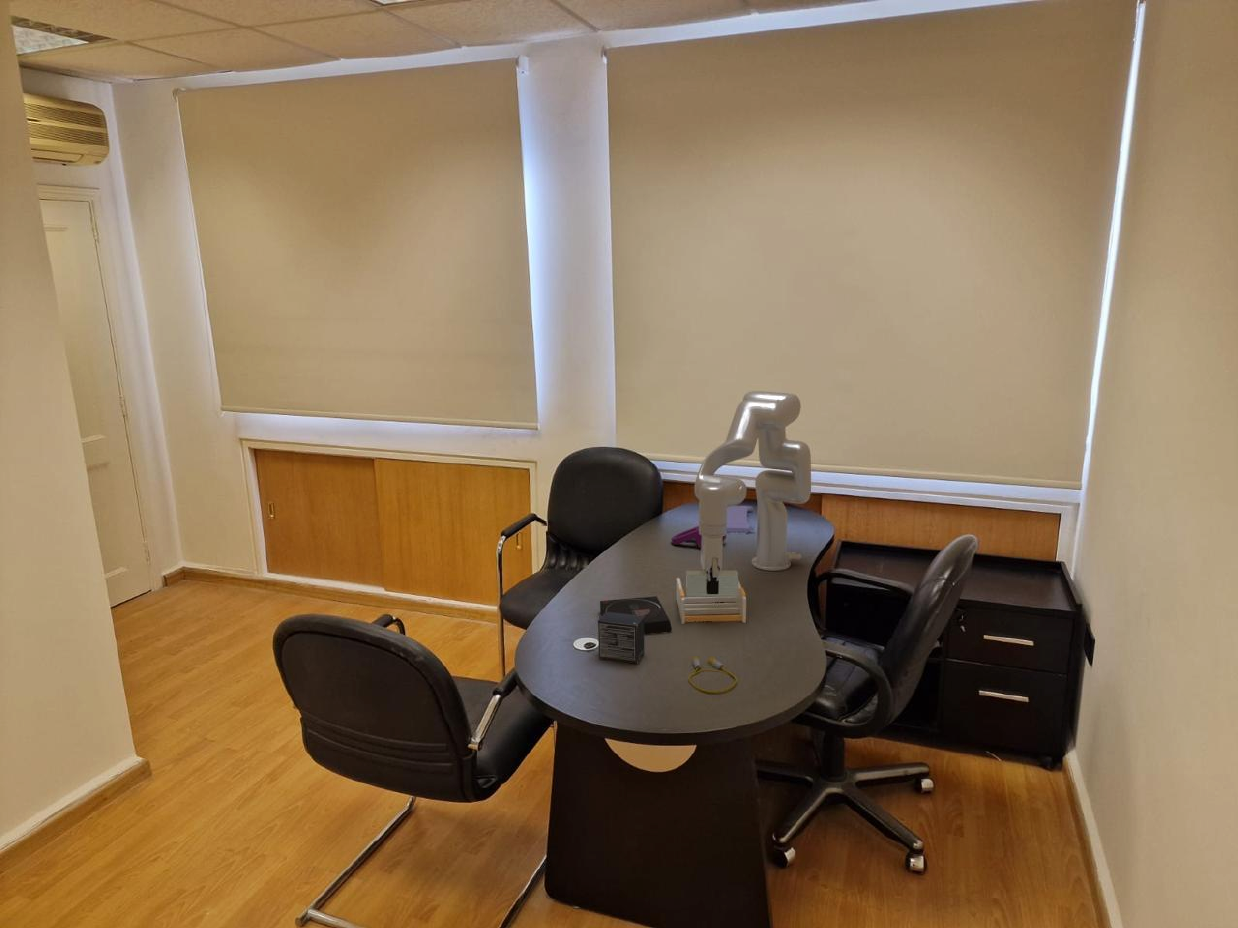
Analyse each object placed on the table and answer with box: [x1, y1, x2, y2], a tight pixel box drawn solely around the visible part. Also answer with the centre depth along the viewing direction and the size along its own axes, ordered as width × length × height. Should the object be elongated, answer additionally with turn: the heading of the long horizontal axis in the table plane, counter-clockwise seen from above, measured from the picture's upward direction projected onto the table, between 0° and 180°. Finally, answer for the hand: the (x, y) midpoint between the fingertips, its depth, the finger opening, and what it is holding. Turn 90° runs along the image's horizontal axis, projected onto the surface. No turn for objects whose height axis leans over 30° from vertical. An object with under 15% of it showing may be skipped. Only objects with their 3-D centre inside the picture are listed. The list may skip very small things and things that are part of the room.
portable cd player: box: [599, 595, 673, 635], centre depth 222 cm, size 16×17×4 cm
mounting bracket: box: [671, 525, 727, 550], centre depth 283 cm, size 10×8×18 cm
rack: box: [676, 577, 747, 625], centre depth 228 cm, size 18×16×8 cm
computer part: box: [727, 505, 755, 534], centre depth 309 cm, size 30×4×15 cm
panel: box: [685, 570, 739, 597], centre depth 222 cm, size 14×2×6 cm, turn 91°
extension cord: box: [688, 656, 739, 695], centre depth 192 cm, size 12×16×2 cm
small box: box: [597, 612, 645, 665], centre depth 202 cm, size 11×6×10 cm, turn 71°
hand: (711, 591), depth 223 cm, fingers closed on panel, 2 cm apart
